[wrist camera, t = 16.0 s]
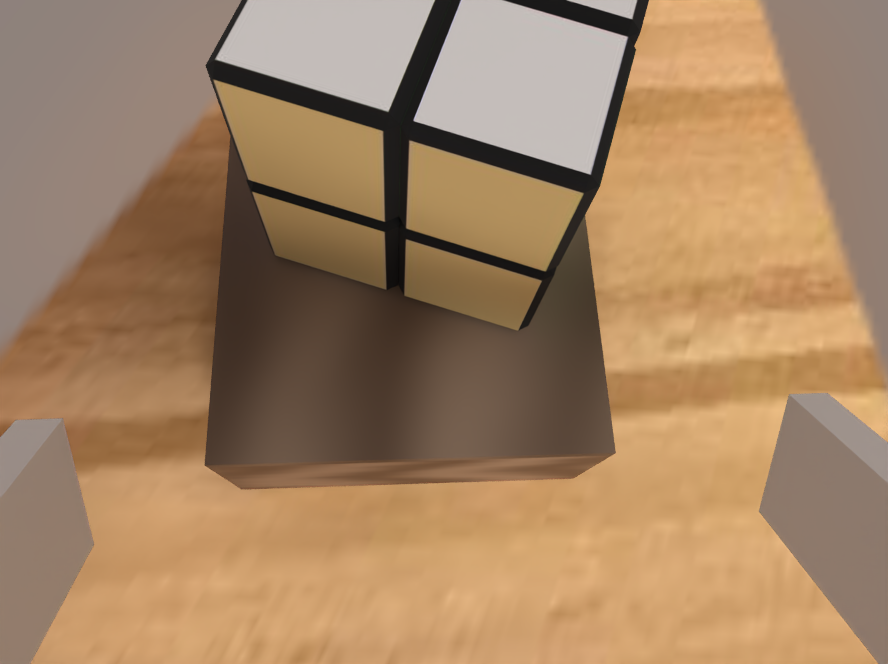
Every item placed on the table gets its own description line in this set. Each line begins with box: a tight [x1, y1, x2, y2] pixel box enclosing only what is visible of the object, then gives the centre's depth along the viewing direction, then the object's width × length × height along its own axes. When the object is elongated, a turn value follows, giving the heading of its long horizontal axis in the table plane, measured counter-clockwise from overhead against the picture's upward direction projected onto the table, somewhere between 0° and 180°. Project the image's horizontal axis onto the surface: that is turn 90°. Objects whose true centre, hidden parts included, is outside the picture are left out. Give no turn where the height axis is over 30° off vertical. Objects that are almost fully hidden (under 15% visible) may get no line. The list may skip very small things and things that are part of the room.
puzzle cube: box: [206, 0, 649, 331], centre depth 22 cm, size 10×10×10 cm
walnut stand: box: [205, 137, 616, 489], centre depth 29 cm, size 14×14×6 cm
